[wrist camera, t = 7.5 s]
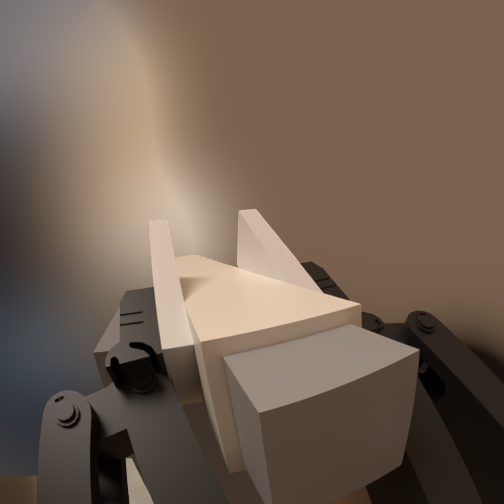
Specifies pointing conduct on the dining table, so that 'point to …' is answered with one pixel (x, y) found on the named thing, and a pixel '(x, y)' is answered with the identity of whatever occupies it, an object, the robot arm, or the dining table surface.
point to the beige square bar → (296, 383)
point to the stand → (233, 484)
